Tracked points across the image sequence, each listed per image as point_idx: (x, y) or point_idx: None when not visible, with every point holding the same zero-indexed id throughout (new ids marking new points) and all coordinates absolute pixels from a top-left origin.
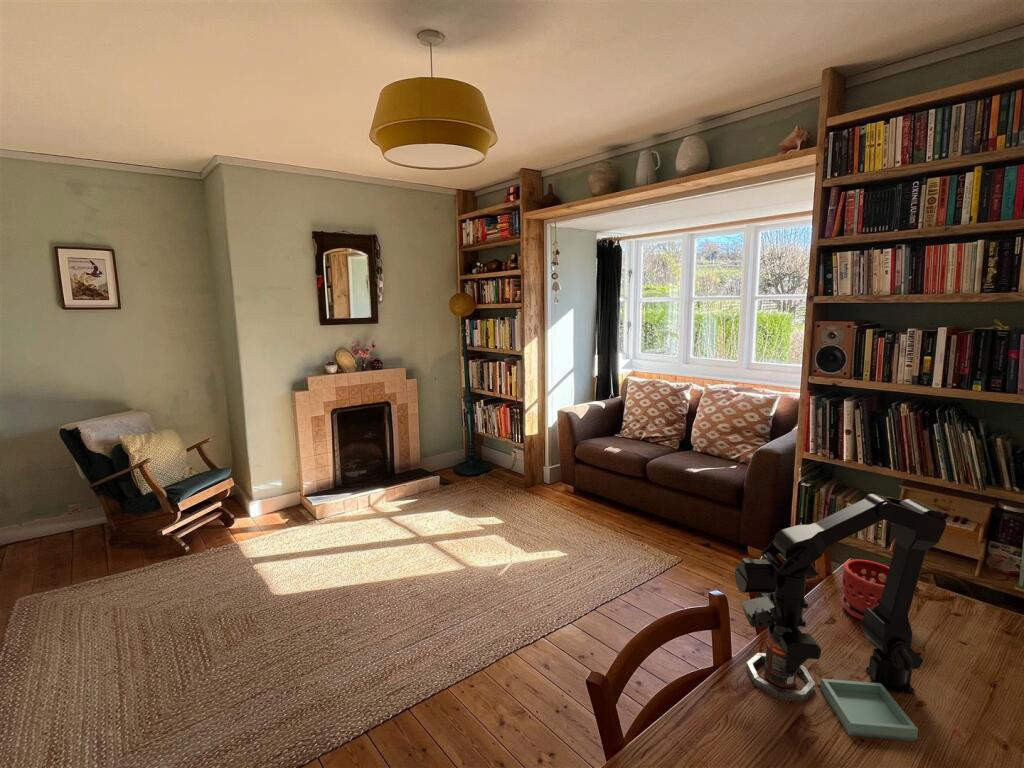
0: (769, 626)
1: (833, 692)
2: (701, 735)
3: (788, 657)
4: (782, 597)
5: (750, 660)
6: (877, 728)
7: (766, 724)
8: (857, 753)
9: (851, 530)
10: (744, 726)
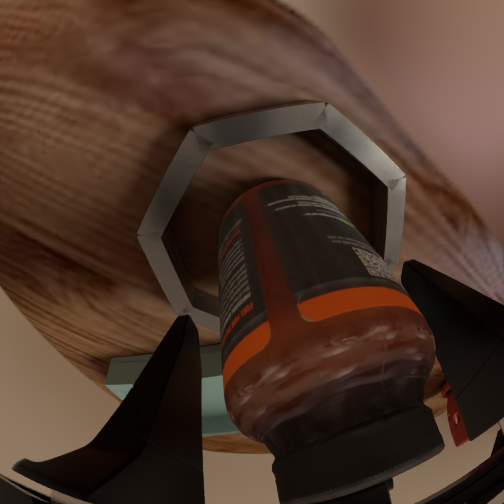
0: (491, 331)
1: (208, 381)
2: None
3: (101, 431)
4: None
5: (346, 124)
6: None
7: (10, 179)
8: (71, 355)
9: None
10: None
